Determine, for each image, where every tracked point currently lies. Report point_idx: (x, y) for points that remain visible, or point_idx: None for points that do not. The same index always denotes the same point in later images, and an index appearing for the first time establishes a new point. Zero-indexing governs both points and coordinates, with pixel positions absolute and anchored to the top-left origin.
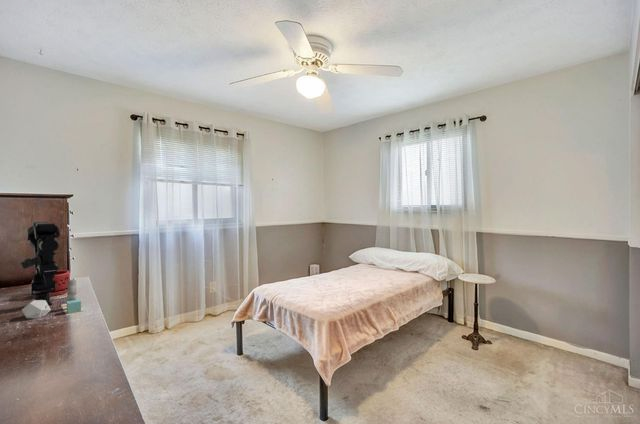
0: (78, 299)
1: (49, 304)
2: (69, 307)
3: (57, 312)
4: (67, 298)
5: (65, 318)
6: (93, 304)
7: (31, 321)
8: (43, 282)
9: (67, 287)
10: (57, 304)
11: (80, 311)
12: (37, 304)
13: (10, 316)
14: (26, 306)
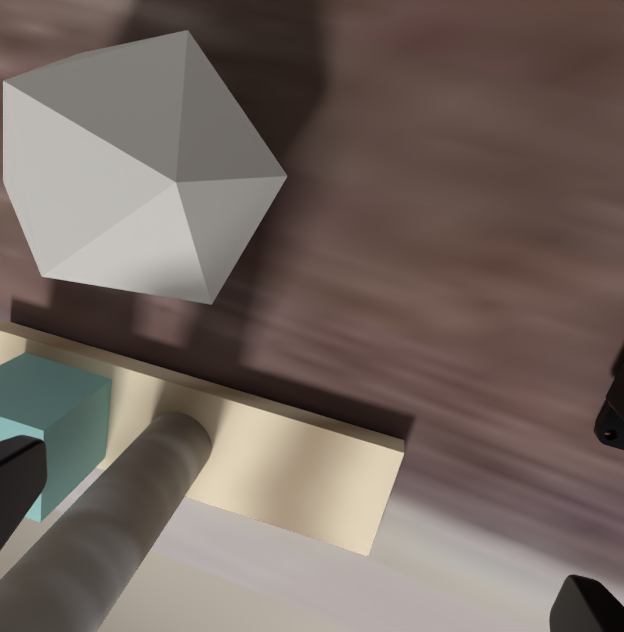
0: (35, 513)
1: (601, 422)
2: None
3: (245, 350)
4: (129, 481)
5: (5, 311)
6: (234, 578)
7: None
8: (564, 589)
9: (11, 602)
10: (561, 468)
11: None
12: (11, 167)
13: (561, 24)
14: (83, 58)
